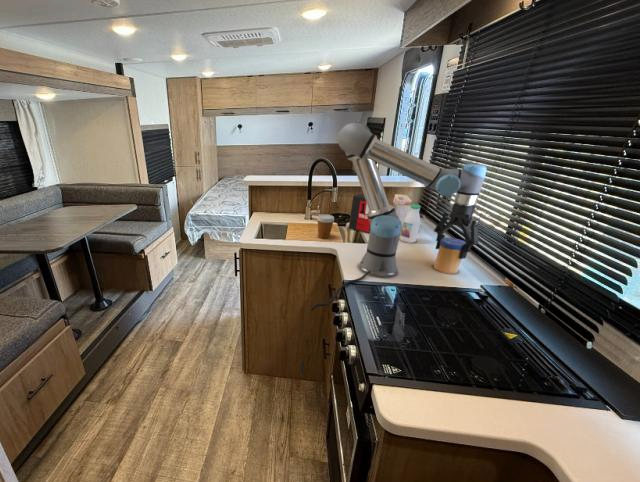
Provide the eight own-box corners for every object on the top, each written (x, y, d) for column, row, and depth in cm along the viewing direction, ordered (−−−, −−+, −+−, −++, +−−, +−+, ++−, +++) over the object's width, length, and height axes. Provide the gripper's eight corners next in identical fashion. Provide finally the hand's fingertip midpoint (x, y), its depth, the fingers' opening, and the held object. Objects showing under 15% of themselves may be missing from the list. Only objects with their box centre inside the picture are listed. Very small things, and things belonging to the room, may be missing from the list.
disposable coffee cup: (325, 241, 168) (328, 220, 163) (311, 236, 175) (313, 216, 170) (335, 237, 174) (338, 216, 169) (321, 232, 181) (323, 213, 176)
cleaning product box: (348, 228, 187) (353, 196, 179) (355, 225, 193) (360, 193, 185) (375, 235, 177) (381, 201, 169) (381, 231, 182) (388, 198, 174)
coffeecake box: (388, 224, 194) (394, 194, 186) (400, 225, 192) (407, 194, 184) (391, 232, 181) (398, 199, 173) (405, 233, 179) (412, 200, 171)
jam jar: (451, 275, 131) (459, 248, 126) (429, 267, 138) (437, 241, 133) (461, 270, 135) (469, 244, 130) (440, 263, 142) (447, 237, 137)
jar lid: (470, 246, 131) (471, 242, 130) (458, 251, 126) (460, 247, 125) (446, 240, 138) (447, 236, 137) (435, 244, 134) (436, 240, 133)
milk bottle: (412, 238, 172) (420, 203, 164) (418, 243, 165) (427, 207, 157) (397, 237, 173) (405, 203, 164) (403, 242, 166) (411, 207, 157)
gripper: (501, 210, 116) (483, 262, 125) (444, 196, 136) (432, 242, 145) (488, 212, 114) (470, 265, 123) (432, 198, 133) (420, 245, 142)
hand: (449, 253), depth 134 cm, fingers open, 10 cm apart
